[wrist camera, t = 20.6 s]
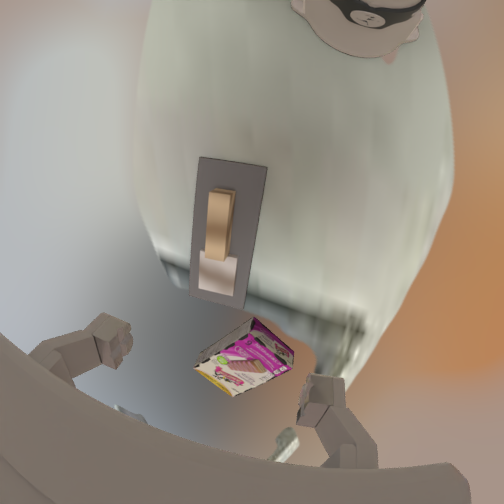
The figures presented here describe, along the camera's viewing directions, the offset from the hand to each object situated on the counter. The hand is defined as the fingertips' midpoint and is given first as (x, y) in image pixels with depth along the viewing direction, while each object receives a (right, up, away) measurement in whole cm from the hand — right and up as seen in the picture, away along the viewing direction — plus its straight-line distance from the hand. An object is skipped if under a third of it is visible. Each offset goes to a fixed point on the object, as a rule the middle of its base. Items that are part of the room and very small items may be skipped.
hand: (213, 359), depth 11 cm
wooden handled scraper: (-3, +6, +32) cm, 33 cm away
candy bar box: (+6, -11, +35) cm, 38 cm away
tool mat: (-3, +7, +32) cm, 33 cm away
